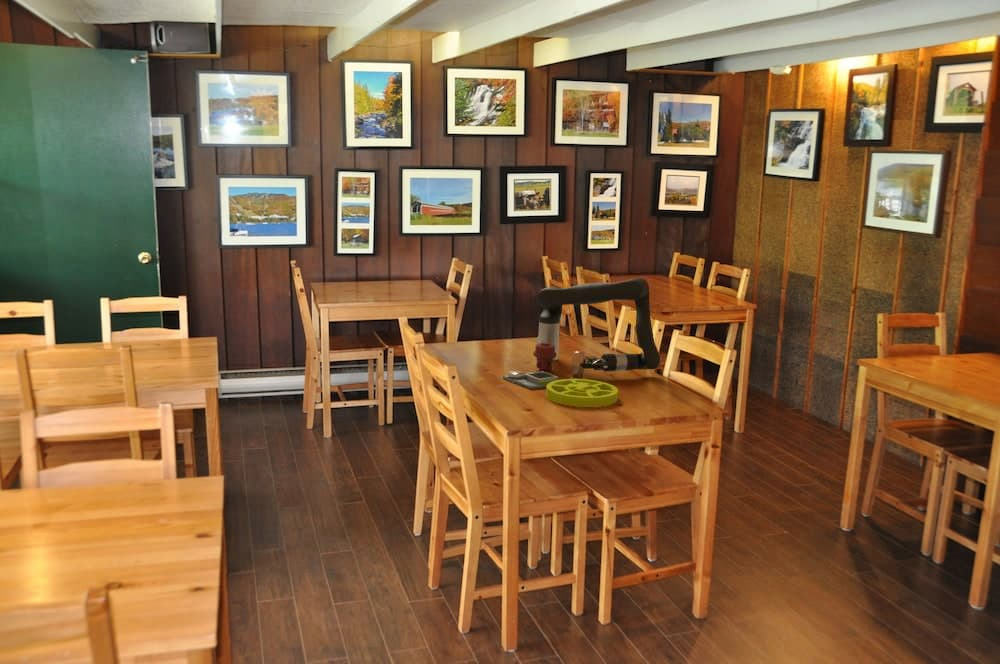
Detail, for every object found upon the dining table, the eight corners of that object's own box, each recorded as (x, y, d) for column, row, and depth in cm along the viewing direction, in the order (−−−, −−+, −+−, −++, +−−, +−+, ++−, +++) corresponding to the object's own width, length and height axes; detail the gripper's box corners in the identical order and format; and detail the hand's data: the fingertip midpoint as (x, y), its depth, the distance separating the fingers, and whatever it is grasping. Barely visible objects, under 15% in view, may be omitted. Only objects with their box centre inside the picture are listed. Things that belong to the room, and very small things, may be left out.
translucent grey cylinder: (567, 379, 375) (568, 351, 373) (578, 377, 379) (579, 349, 376) (576, 382, 370) (577, 354, 368) (587, 380, 374) (589, 352, 371)
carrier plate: (502, 378, 372) (503, 370, 371) (533, 374, 381) (533, 366, 380) (531, 389, 356) (531, 382, 355) (562, 385, 365) (563, 377, 364)
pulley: (534, 391, 355) (534, 379, 354) (595, 386, 366) (596, 375, 365) (566, 411, 330) (567, 398, 329) (631, 405, 341) (631, 392, 340)
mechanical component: (533, 367, 393) (556, 368, 392) (531, 372, 384) (555, 374, 383) (534, 339, 391) (557, 341, 390) (533, 344, 381) (556, 346, 380)
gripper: (607, 350, 384) (572, 351, 379) (621, 357, 371) (585, 358, 366) (606, 367, 385) (571, 368, 381) (620, 375, 372) (584, 376, 367)
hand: (578, 363), depth 373 cm, fingers open, 8 cm apart
